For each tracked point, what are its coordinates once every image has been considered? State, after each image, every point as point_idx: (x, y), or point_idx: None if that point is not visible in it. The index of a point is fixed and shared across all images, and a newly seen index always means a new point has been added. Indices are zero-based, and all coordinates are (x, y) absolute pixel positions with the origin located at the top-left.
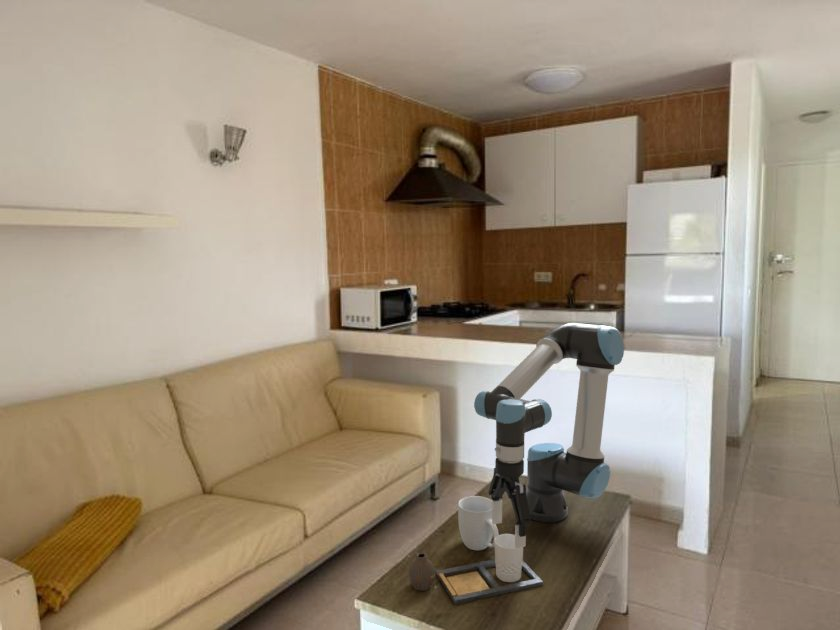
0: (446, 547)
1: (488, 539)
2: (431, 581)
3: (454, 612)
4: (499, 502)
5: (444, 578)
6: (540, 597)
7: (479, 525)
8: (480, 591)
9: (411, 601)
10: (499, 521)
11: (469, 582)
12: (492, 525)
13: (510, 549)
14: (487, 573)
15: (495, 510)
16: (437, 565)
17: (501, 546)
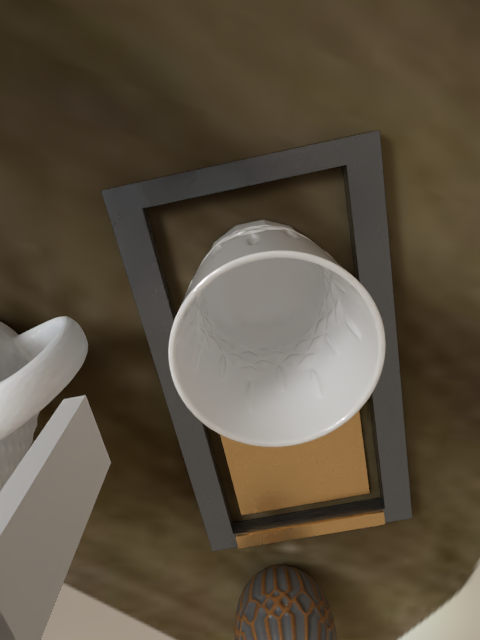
0: None
1: (14, 351)
2: (321, 596)
3: (448, 513)
4: (5, 586)
5: (273, 535)
6: (463, 178)
7: (2, 467)
8: (381, 430)
9: (354, 612)
10: (89, 425)
11: (291, 446)
12: (28, 410)
13: (379, 370)
14: None
15: (62, 542)
16: (152, 529)
17: (195, 349)
